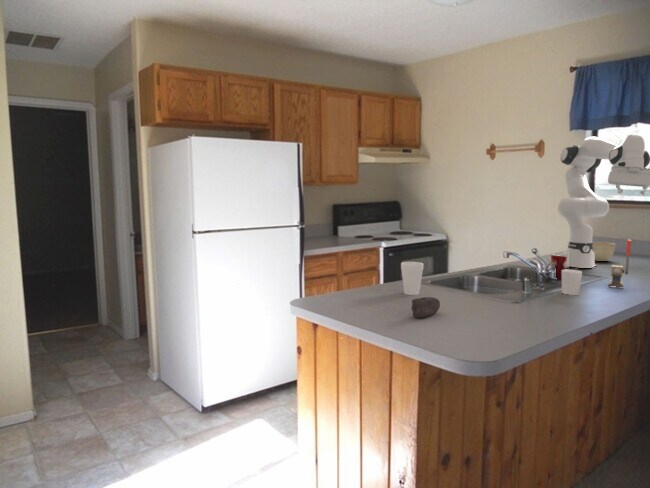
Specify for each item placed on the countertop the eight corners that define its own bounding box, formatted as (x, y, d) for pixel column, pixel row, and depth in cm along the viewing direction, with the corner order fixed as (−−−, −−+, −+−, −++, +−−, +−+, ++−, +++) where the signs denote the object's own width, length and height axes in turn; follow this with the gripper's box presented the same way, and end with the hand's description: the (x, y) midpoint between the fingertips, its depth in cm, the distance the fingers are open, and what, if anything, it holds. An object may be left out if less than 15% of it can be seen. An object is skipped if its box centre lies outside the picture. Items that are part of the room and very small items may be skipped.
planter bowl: (614, 260, 304) (616, 242, 303) (613, 264, 291) (614, 245, 289) (585, 258, 313) (586, 241, 312) (582, 261, 299) (583, 243, 298)
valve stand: (609, 283, 235) (610, 264, 234) (623, 284, 232) (624, 265, 231) (608, 287, 226) (610, 267, 225) (623, 288, 224) (624, 268, 223)
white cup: (585, 295, 211) (586, 271, 209) (571, 296, 208) (572, 273, 206) (569, 291, 218) (571, 268, 217) (556, 292, 215) (557, 270, 214)
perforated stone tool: (433, 311, 185) (434, 292, 184) (445, 314, 181) (445, 295, 180) (406, 317, 175) (406, 298, 174) (417, 321, 171) (418, 301, 170)
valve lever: (624, 273, 228) (626, 239, 226) (628, 274, 227) (631, 239, 226) (624, 274, 226) (627, 240, 224) (628, 274, 225) (631, 240, 223)
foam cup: (397, 294, 212) (398, 264, 210) (404, 290, 220) (405, 261, 218) (419, 296, 207) (419, 266, 206) (425, 292, 216) (426, 262, 214)
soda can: (550, 279, 244) (552, 255, 242) (548, 277, 251) (550, 253, 249) (566, 280, 242) (568, 256, 240) (564, 277, 249) (565, 254, 247)
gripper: (654, 170, 241) (652, 198, 238) (607, 167, 245) (605, 194, 243) (659, 166, 234) (658, 194, 232) (612, 162, 239) (610, 190, 237)
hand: (631, 194), depth 238 cm, fingers open, 8 cm apart
